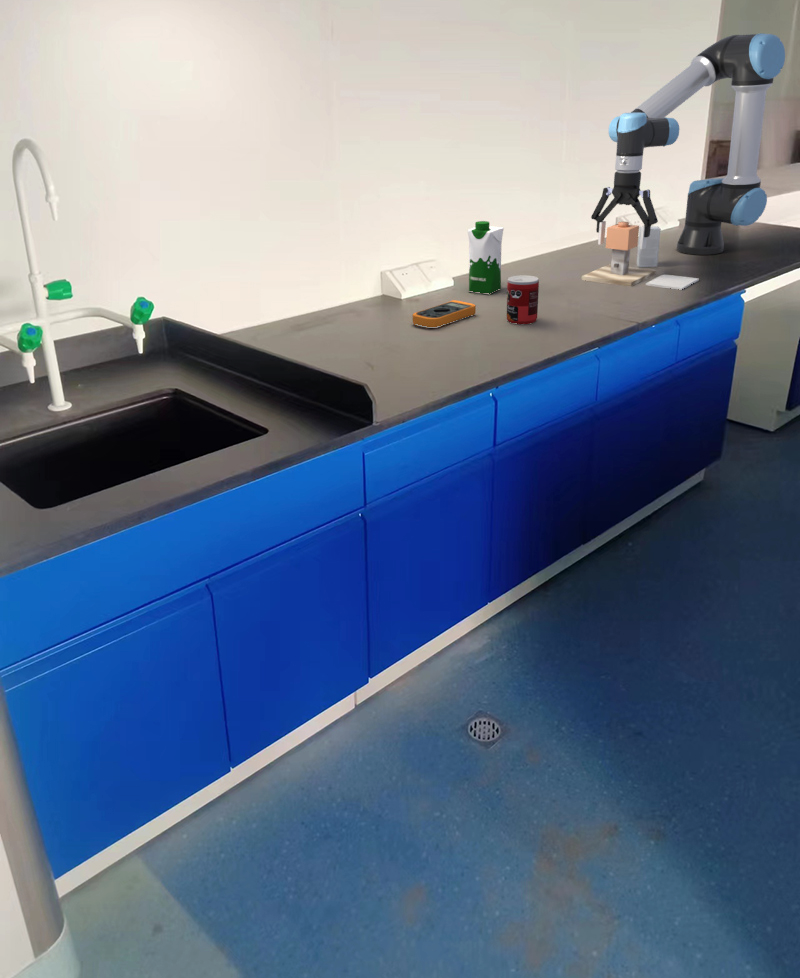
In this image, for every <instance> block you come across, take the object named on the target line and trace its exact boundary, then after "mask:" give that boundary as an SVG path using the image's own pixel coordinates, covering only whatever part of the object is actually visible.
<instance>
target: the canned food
mask: <svg viewBox="0 0 800 978" xmlns="http://www.w3.org/2000/svg"><path fill="white" fill-rule="evenodd" d="M539 280H540V279H539V277H537V276H533V275H523V274H522V275H520V274H519V275H512V276H509V277H508V278H507V283H506V320H508V321H509V322H508V321H507V322H508V323H510V322H511V323H510V324H512V323H517V324H516V325H521V324H524V325H531V324H530V323H532V324H534V323H536V322H537V320H538V308H539V292H540V289H539V288H540V287H539V286H540V281H539Z"/></svg>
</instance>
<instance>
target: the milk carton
mask: <svg viewBox="0 0 800 978" xmlns="http://www.w3.org/2000/svg"><path fill="white" fill-rule="evenodd" d="M474 223H475V224H474V225H475V226H474V227H472V228H469V229H468V230H467V235H468V250H469V251H468V252H469V253H468V265H469V266H468V292H469V291H473V292H480V293H489V294H490V293H492V292H494V291H496V290H498V289H501V290H502V241H503V235H504V229H505V228H504V227H500V226H490V221H486V220H481V221H479V220H478V221H475V222H474Z"/></svg>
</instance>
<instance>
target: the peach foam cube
mask: <svg viewBox="0 0 800 978" xmlns="http://www.w3.org/2000/svg"><path fill="white" fill-rule="evenodd" d="M639 228H640V225H636V224H630V222H629V221H618V223H617V224H613V225H610V226H608V227H606V236H605V237H606V239H605V249H611V250H612V249H619V250H630V251H631V250H632V249H633V248H636V247H637V248H638V240H639Z"/></svg>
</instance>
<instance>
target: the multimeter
mask: <svg viewBox="0 0 800 978" xmlns="http://www.w3.org/2000/svg"><path fill="white" fill-rule="evenodd" d="M476 306H477V305H475V304H474V303H470V302H465V301H461V300H455V299H452V300H450V301H447V302H445V303H444V302H443V303H441V304H438V305H435V306H432V307H429V308H425V309H423V310H420V311H419V310H418V311H416V312H414V313H413V314H412V323H414V324H418V325H422V326H427V327H437V326H441V325H443V324H447V323H450V322H453V321H456V320H459V319H462V318H465V317H468V316H471V315H474V314H476V311H477V310H476V309H477V308H476ZM474 316H475V315H474ZM471 317H472V316H471ZM468 318H469V317H468ZM465 319H466V318H465ZM462 320H463V319H462ZM459 321H460V320H459ZM456 322H457V321H456ZM453 323H454V322H453ZM414 324H413V325H414Z"/></svg>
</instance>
